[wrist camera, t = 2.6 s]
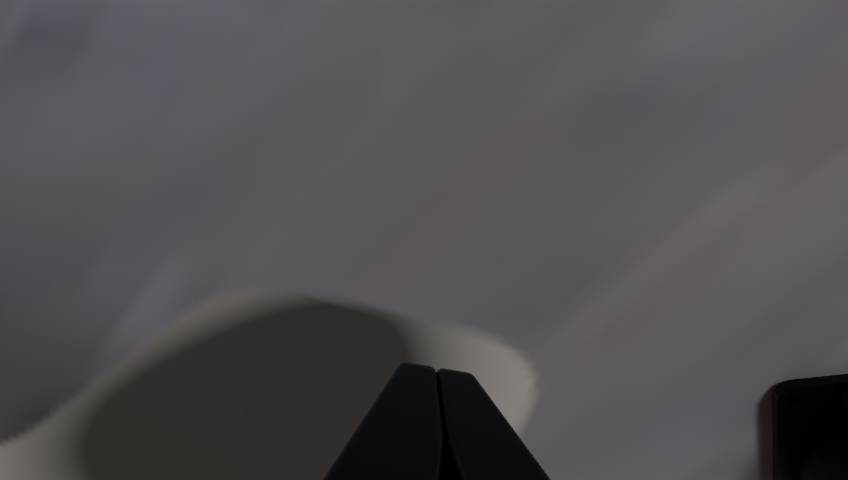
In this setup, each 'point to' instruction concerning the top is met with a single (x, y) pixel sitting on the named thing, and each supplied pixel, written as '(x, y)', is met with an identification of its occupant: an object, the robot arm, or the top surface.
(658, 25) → the top surface
